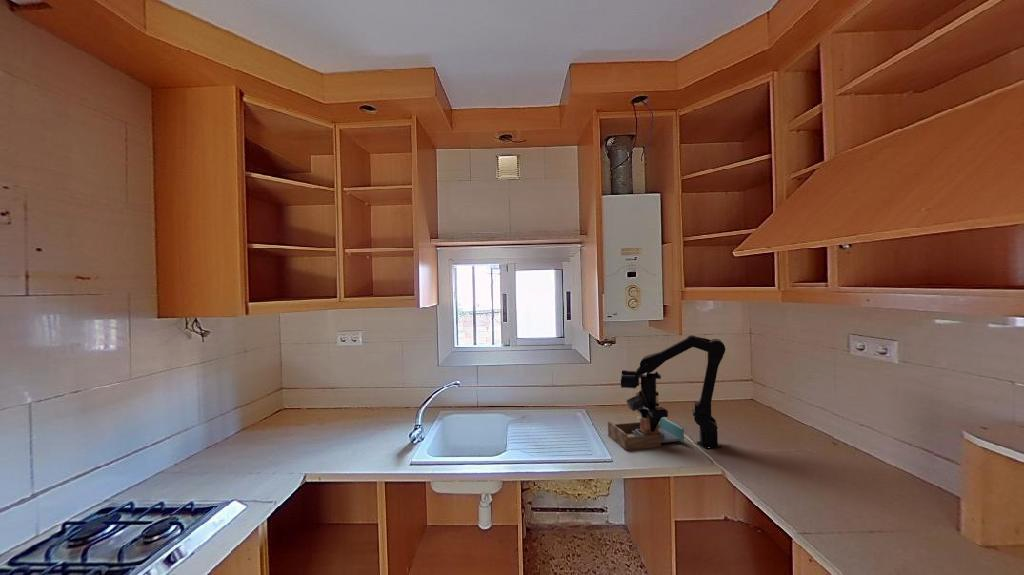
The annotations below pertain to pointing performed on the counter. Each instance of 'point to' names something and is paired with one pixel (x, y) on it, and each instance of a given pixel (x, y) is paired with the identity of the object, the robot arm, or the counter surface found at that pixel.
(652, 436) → the caddy frame
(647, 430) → the terracotta block
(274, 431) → the counter surface
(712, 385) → the robot arm
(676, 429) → the sliding tray
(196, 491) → the counter surface
